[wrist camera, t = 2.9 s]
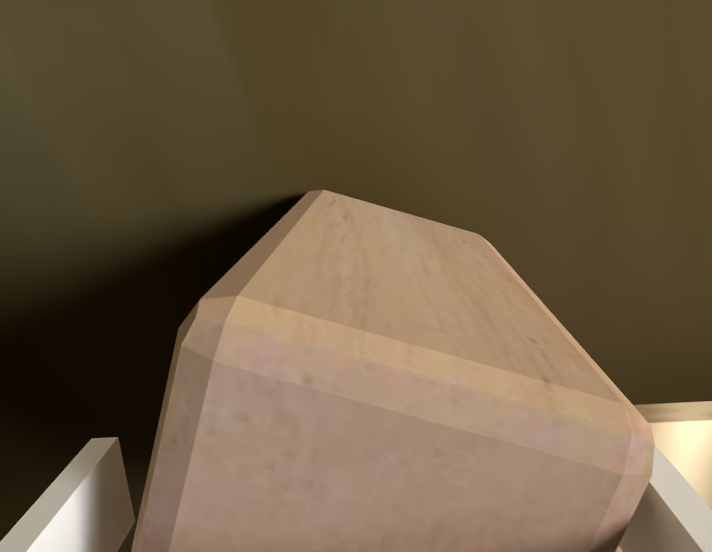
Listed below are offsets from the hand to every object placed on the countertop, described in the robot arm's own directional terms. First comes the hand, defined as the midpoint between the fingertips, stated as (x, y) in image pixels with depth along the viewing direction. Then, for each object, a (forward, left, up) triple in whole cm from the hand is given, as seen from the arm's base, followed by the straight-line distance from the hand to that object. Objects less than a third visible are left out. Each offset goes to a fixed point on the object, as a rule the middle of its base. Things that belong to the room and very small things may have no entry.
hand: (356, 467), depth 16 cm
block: (0, 0, -16) cm, 16 cm away
